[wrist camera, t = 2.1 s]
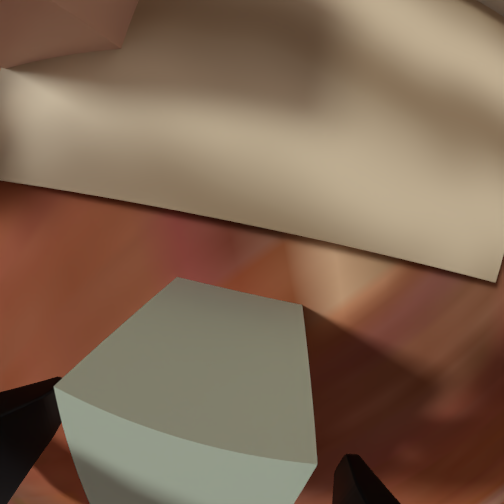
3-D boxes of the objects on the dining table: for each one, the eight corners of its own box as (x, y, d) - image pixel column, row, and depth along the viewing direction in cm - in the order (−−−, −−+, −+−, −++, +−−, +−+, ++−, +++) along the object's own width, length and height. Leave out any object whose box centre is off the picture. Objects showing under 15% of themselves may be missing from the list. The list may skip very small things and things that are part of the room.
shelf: (479, 273, 10) (531, 302, 6) (-4, 176, 11) (-55, 180, 8) (496, 13, 7) (533, -14, 4) (61, -32, 8) (28, -56, 5)
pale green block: (301, 304, 11) (317, 464, 4) (260, 440, 12) (241, 573, 5) (171, 275, 11) (44, 381, 4) (160, 415, 12) (97, 531, 6)
